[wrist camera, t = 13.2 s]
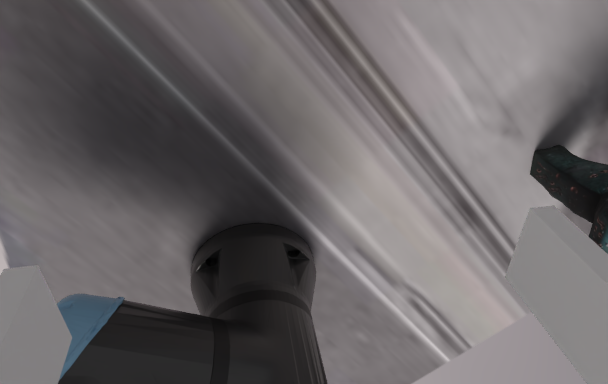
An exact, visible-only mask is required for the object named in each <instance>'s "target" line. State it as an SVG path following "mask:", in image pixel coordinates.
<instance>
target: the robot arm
mask: <svg viewBox="0 0 608 384" xmlns="http://www.w3.org/2000/svg"><path fill="white" fill-rule="evenodd" d="M505 278H506V279H507V281H508V282H509V283H510V284H511V286H512V287H513V288H514V290H515V291H516V292H517V294H518V295H519V296H520V297H521V299H522V300H523V301H524V303H525V304H526V305H527V307H528V308H529V309H530V310H531V312H532V313H533V314H534V316H535V317H536V318H537V320H538V321H539V322H540V323H541V325H542V326H543V327H544V329H545V330H546V331H547V332H548V334H549V335H550V336H551V338H552V339H553V340H554V342H555V343H556V344H557V346H558V347H559V348H560V349H561V351H562V352H563V353H564V355H565V356H566V357H567V359H568V360H569V361H570V362H571V364H572V365H573V366H574V368H575V369H576V370H577V371H578V373H579V374H580V375H581V377H582V378H583V379H584V381H585V382H586V383H587V384H608V254H607V253H606V252H605V251H604V250H603V249H601V248H600V247H599V246H598V245H597V244H596V243H595V242H594V241H593V240H592V239H590V238H589V237H588V236H587V235H586V234H585V233H584V232H583V231H582V230H580V229H579V228H578V227H577V226H576V225H575V224H574V223H573V222H572V221H571V220H569V219H568V218H567V217H566V216H565V215H564V214H563V213H562V212H561V211H559V210H558V209H557V208H556V207H555V206H547V207H538V208H530V210H529V212H528V215H527V218H526V221H525V223H524V226H523V229H522V232H521V234H520V237H519V240H518V243H517V246H516V248H515V251H514V254H513V257H512V259H511V262H510V265H509V268H508V270H507V273H506V276H505ZM315 281H316V269H315V264H314V260H313V256H312V253H311V250H310V248H309V247H308V245H307V244H306V242H305V241H304V240H303V239H302V238H301V237H299V236H298V235H297V234H295V233H294V232H292V231H290V230H288V229H285V228H283V227H280V226H276V225H270V224H246V225H240V226H236V227H233V228H230V229H227V230H225V231H222V232H220V233H219V234H217V235H215V236H214V237H212V238H211V239H209V240H208V241H207V242H206V243H205V244H204V245H203V246H202V247H201V248H200V249H199V251H198V252H197V254H196V256H195V258H194V260H193V263H192V268H191V290H192V294H193V297H194V300H195V302H196V305H197V307H198V310H199V312H200V315H197V314H191V313H186V312H181V311H176V310H171V309H166V308H161V307H156V306H151V305H146V304H141V303H136V302H131V301H126V300H124V299H125V298H123V297H118V298H109V297H101V296H94V295H87V294H74V295H70V296H68V297H66V298H64V299H62V300H61V301H60V302H58V303H57V304H56V302H55V300H54V298H53V296H52V293H51V291H50V289H49V287H48V285H47V283H46V281H45V279H44V277H43V274H42V272H41V270H40V268H39V266H38V265H35V266H26V267H17V268H9V269H4V270H3V272H2V273H1V275H0V384H327V380H326V375H325V371H324V367H323V363H322V359H321V354H320V350H319V346H318V342H317V338H316V333H315V329H314V325H313V321H312V316H311V306H312V300H313V294H314V287H315Z"/></svg>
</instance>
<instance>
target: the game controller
mask: <svg viewBox="0 0 608 384" xmlns="http://www.w3.org/2000/svg"><path fill="white" fill-rule="evenodd" d="M530 175H532V176H533V177H534V178H535V179H536V180H537V181H538V182H539V183H540V184H542V185H543V186H544V187H545V189H546V190H547V191H548V192H549V194H550V195H551V196H552V197H554V198H556V199H557V200H559V201H561V202H562V203H563V204H564V205H565V206H566V207H568V208H569V209H570V210H571V211H572V212H573V213H575V214H577V215H579V216H580V217H583V218H584V219H586V220H588V221H589V222H591V223H593V224H592V228H591V231H590V234H589V238H590V239H592V240H593V241H594V242H595V243H596V244H597V245H598V246H599V247H600V248H601V249H603V250H604V251H605V252H606V253H607V254H608V165H606V164H601V163H597V162H592V161H588V160H585V159H581V158H579V157H577V156H575V155H573V154H572V153H570V152H569V151H568V150H567V149H566V148H565V147H563V146H561V145H557V146H554V147H552V148H549V149H544V150H537V151H535V154H534V158H533V163H532V168H531V173H530Z"/></svg>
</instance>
